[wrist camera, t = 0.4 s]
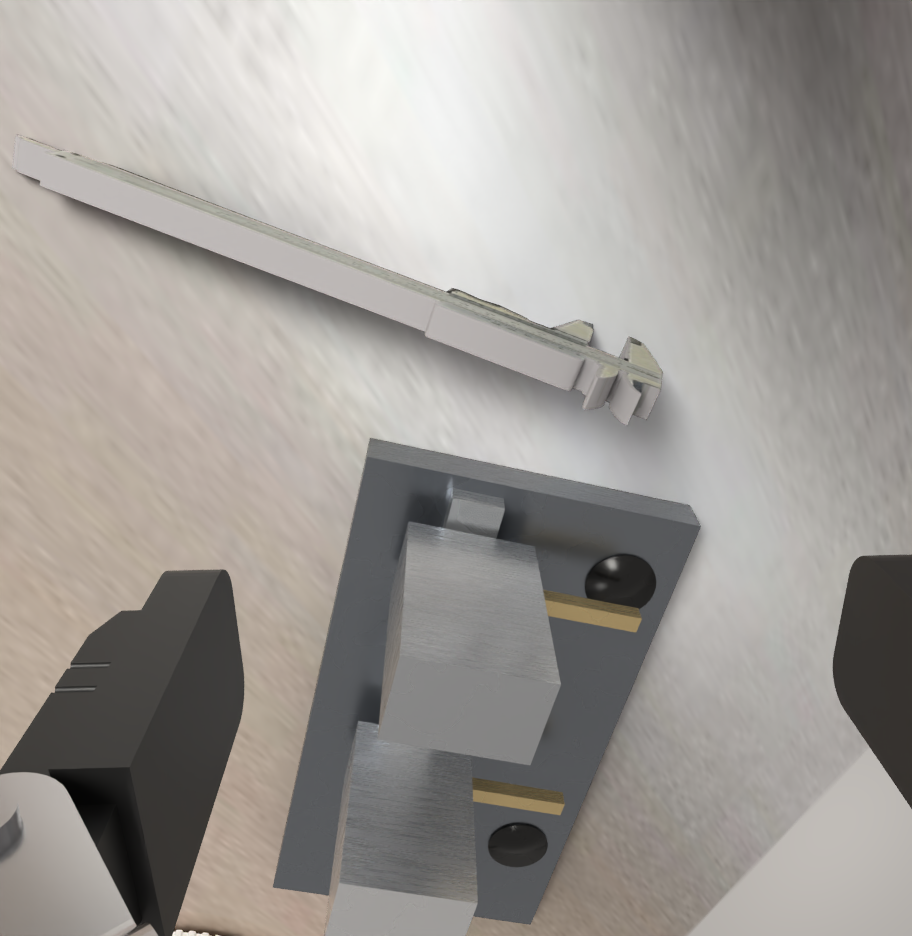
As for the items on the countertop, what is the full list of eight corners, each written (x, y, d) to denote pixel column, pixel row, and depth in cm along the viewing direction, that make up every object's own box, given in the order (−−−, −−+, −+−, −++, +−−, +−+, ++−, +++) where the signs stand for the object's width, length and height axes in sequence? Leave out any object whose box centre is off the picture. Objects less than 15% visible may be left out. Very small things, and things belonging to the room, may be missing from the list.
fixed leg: (408, 521, 29) (399, 655, 22) (645, 568, 30) (700, 710, 23) (390, 593, 30) (377, 739, 24) (618, 636, 31) (663, 787, 25)
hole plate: (370, 437, 30) (364, 467, 28) (689, 505, 31) (707, 538, 29) (278, 858, 39) (269, 903, 37) (527, 895, 41) (532, 940, 39)
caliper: (641, 335, 29) (690, 405, 23) (628, 365, 29) (673, 440, 24) (21, 132, 26) (-96, 156, 20) (17, 169, 26) (-98, 202, 20)
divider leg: (358, 720, 32) (339, 883, 26) (569, 756, 33) (599, 921, 27) (344, 777, 34) (322, 944, 27) (547, 809, 35) (571, 978, 28)
